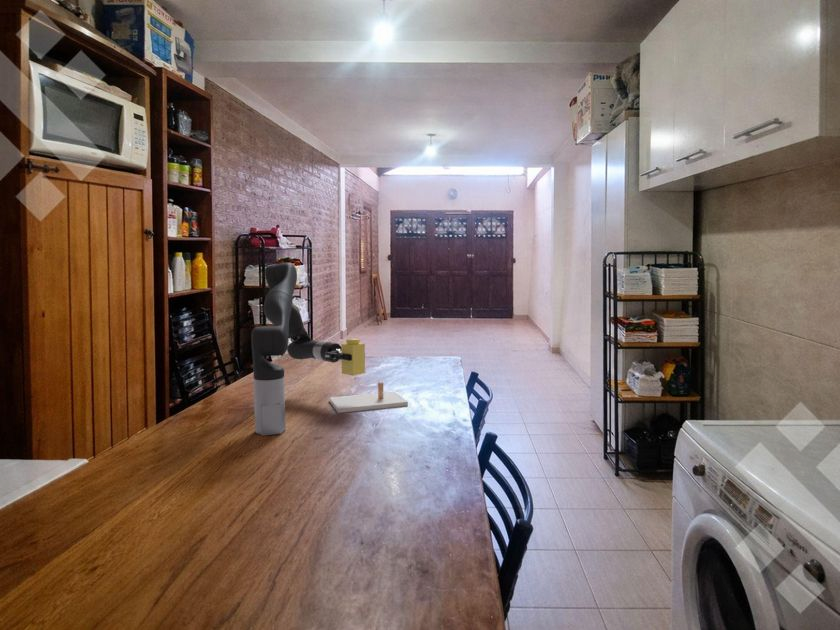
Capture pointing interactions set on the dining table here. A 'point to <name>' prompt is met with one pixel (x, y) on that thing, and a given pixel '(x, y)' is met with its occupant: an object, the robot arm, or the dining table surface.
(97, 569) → the dining table surface
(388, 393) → the plate
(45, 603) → the dining table surface
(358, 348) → the tall yellow stud brick
